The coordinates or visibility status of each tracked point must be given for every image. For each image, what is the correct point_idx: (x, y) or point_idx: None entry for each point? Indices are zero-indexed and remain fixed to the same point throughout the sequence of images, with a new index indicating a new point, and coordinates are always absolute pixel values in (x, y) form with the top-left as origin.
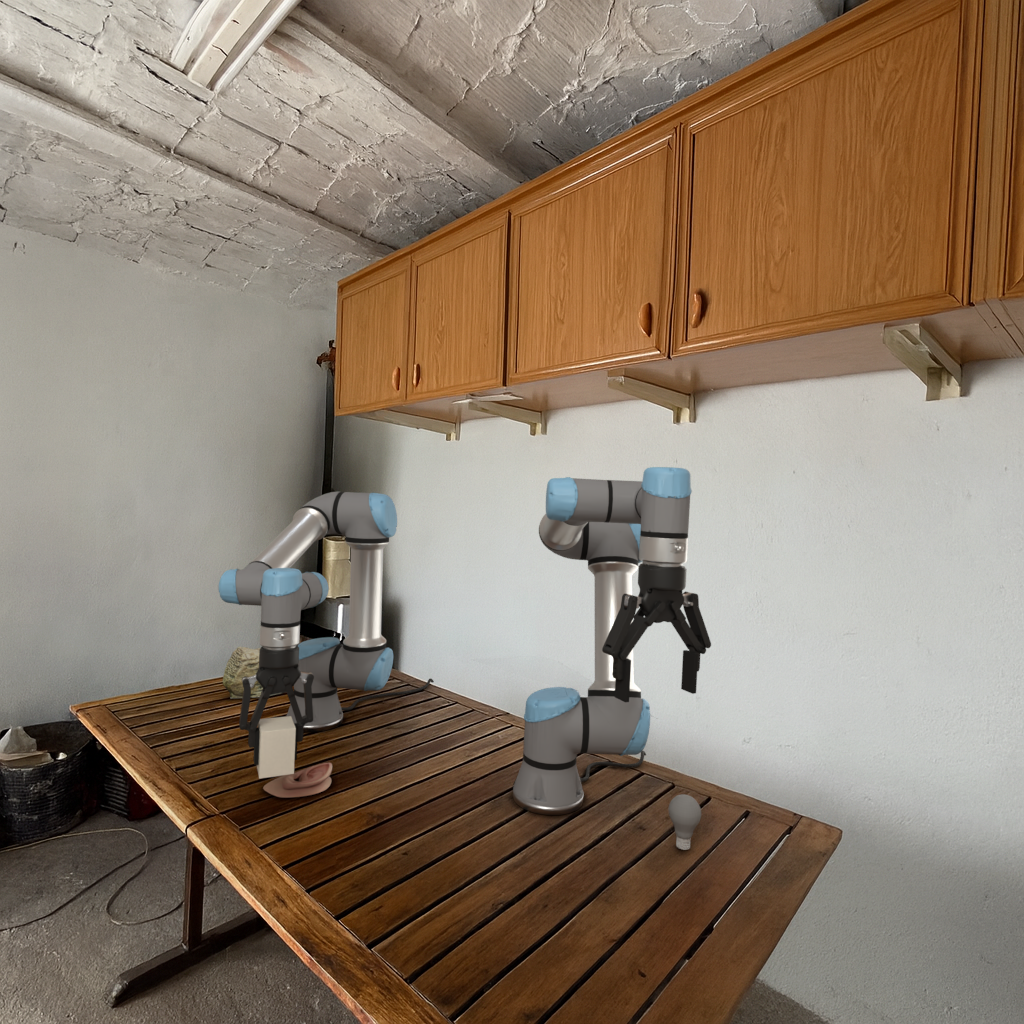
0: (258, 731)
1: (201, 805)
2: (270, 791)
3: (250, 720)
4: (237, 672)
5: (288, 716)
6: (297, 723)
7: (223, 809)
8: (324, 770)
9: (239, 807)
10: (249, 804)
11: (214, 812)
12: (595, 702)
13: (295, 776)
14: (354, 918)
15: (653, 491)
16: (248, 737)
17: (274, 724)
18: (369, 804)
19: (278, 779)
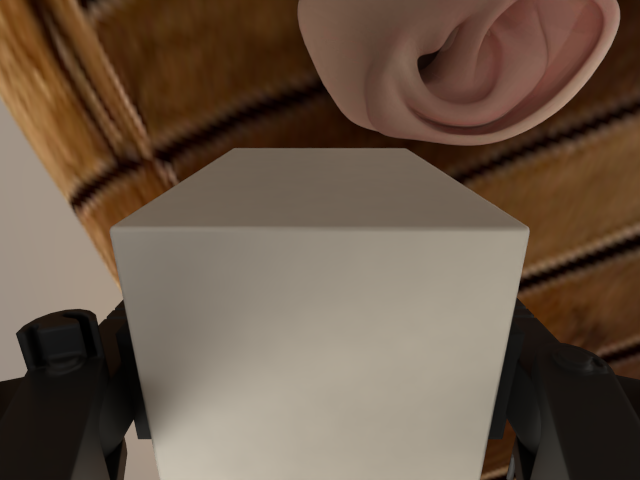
0: None
1: (80, 70)
2: (320, 70)
3: (10, 405)
4: None
5: (494, 240)
6: (515, 468)
7: (162, 132)
8: (567, 23)
9: (213, 136)
10: (246, 125)
11: (135, 144)
12: None
13: (429, 44)
14: None
15: None
16: (104, 324)
17: (296, 435)
18: (604, 263)
19: (358, 11)
